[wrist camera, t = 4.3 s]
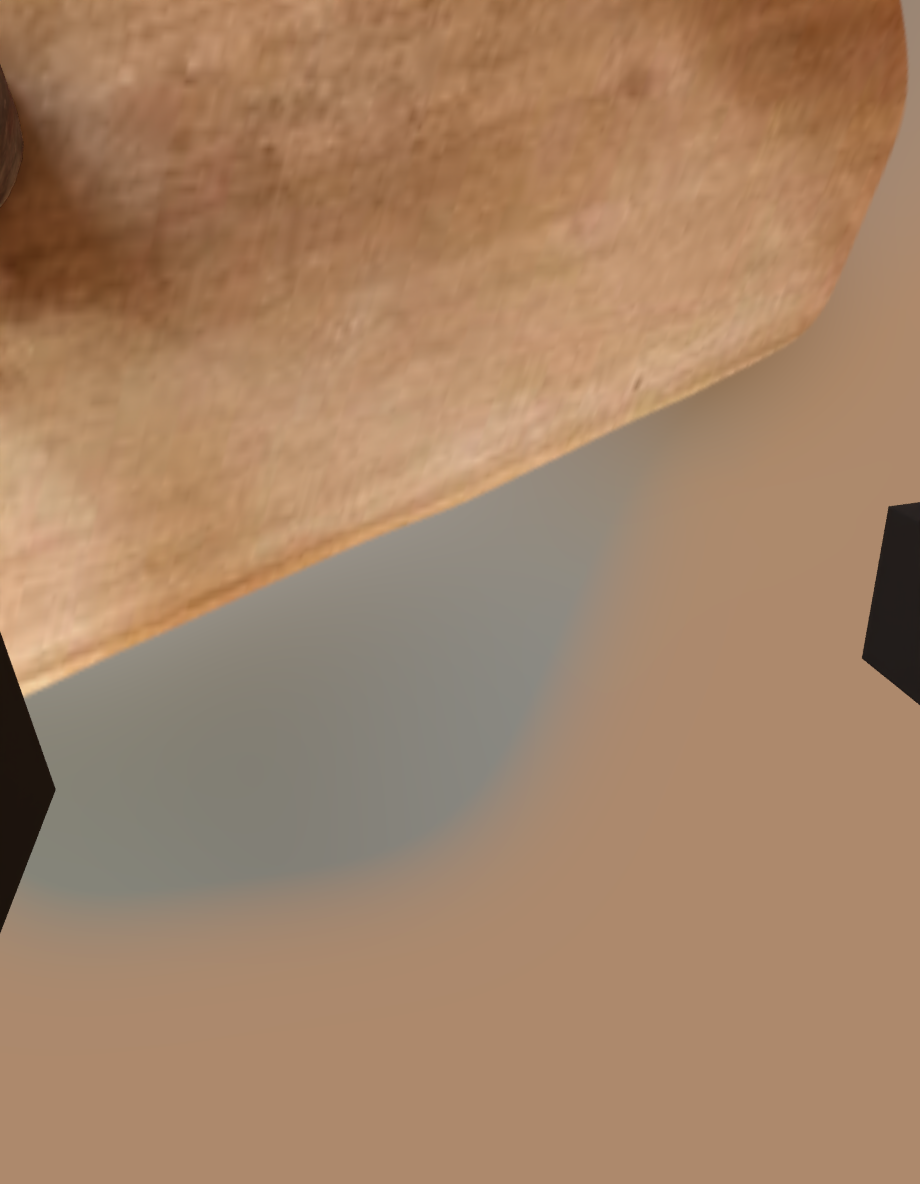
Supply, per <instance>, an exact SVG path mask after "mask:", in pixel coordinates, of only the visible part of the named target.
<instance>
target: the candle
mask: <svg viewBox="0 0 920 1184" xmlns="http://www.w3.org/2000/svg"><path fill="white" fill-rule="evenodd" d="M22 157H23V138H22V133H21V128H20V123H19V118H18V113H17V110H16V107H15V104H14V101H13V99H12V96H11V93H10V91H9V88H8V84H7V82H6V79H5V76H4V73H3V71H2V68H1V65H0V207H1V206H2V204H3V203H4V202H5V200H6V199H7V198H8V196H9V194H10V191H11V189H12V187H13V185H14V184H15V180H16V177H17V173H18V170H19V167H20V164H21V161H22Z"/></svg>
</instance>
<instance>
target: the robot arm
mask: <svg viewBox="0 0 920 1184" xmlns="http://www.w3.org/2000/svg"><path fill="white" fill-rule="evenodd" d="M862 659H863V660H865V661H866V662H867V663H868V664H870V665H871V666H872V667H873V668H874V669H876V670H877V671H878V672H880V673H881V674H882V675H883V676H884V677H886V678H887V679H888V680H889V681H891V682H892V683H893V684H895V685H896V686H897V687H898V688H899V689H901V690H902V691H903V692H904V693H905V694H907V695H908V696H909V697H910V698H912V699H913V700H914V701H915V702H917V703H918V704H919V705H920V502H918V503H911V504H903V505H897V506H889V507H888V513H887V519H886V525H885V530H884V536H883V542H882V547H881V553H880V559H879V564H878V570H877V576H876V581H875V587H874V593H873V598H872V604H871V610H870V616H869V621H868V627H867V632H866V638H865V644H864V649H863V655H862ZM54 793H55V786H54V783H53V781H52V778H51V775H50V772H49V769H48V767H47V763H46V761H45V758H44V755H43V752H42V749H41V746H40V744H39V741H38V738H37V735H36V732H35V729H34V727H33V724H32V721H31V718H30V715H29V712H28V709H27V707H26V704H25V701H24V698H23V695H22V692H21V689H20V687H19V684H18V681H17V678H16V675H15V672H14V670H13V667H12V664H11V661H10V658H9V655H8V652H7V650H6V647H5V644H4V641H3V638H2V635H1V633H0V932H1V930H2V927H3V925H4V922H5V919H6V917H7V914H8V912H9V909H10V906H11V904H12V901H13V899H14V896H15V893H16V891H17V888H18V886H19V883H20V880H21V878H22V875H23V873H24V870H25V867H26V865H27V862H28V860H29V857H30V855H31V852H32V849H33V847H34V844H35V842H36V839H37V837H38V834H39V831H40V829H41V826H42V824H43V821H44V818H45V816H46V813H47V811H48V808H49V805H50V803H51V800H52V798H53V795H54Z"/></svg>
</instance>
